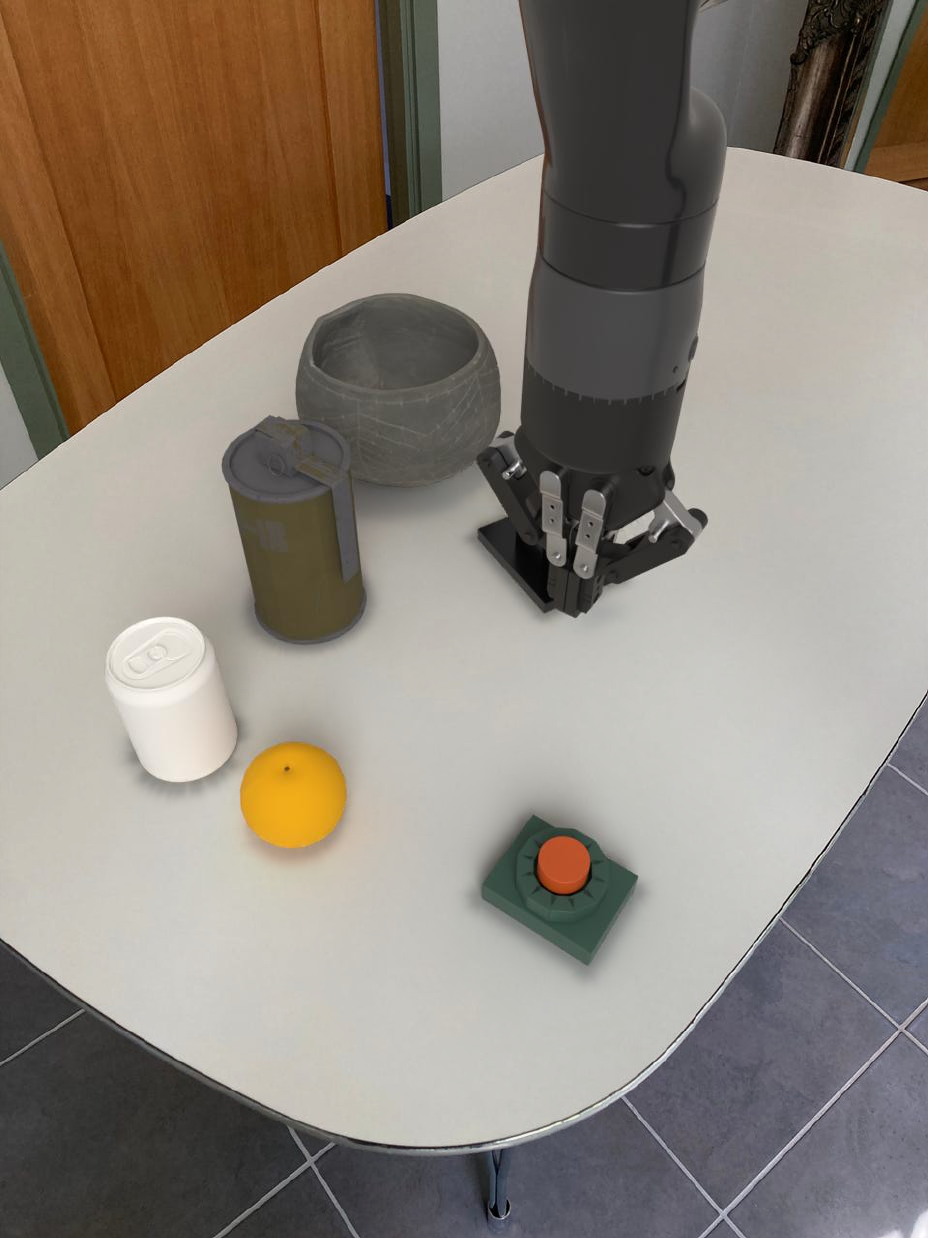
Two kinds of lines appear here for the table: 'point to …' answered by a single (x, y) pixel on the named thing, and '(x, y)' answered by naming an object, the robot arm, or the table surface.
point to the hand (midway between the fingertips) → (572, 604)
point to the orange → (293, 794)
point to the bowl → (401, 387)
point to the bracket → (520, 559)
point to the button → (563, 865)
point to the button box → (559, 916)
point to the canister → (297, 527)
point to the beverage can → (171, 698)
